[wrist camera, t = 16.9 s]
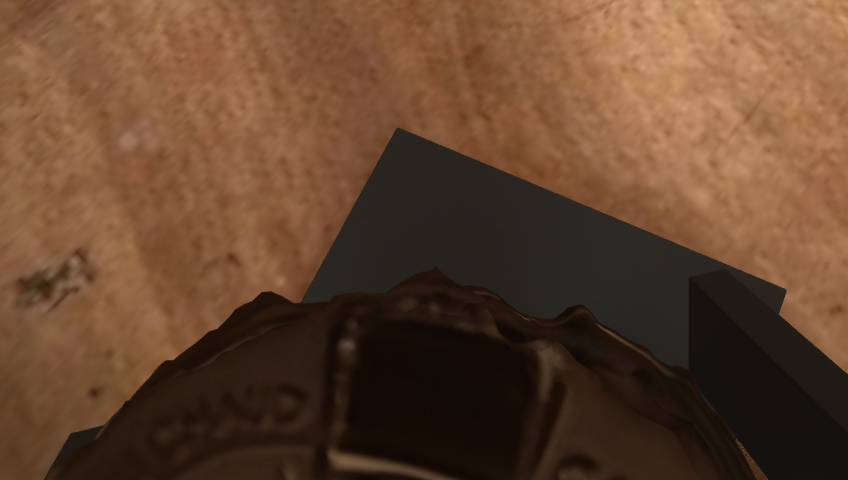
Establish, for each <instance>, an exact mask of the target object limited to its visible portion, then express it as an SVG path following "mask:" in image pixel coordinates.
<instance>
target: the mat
mask: <svg viewBox="0 0 848 480" xmlns="http://www.w3.org/2000/svg"><path fill="white" fill-rule="evenodd" d="M435 266H437V267H438V269H439V270H440V271H441V272H442V273H443V274H444V275H446V276H447V277H448V278H450V279H451V280H453V281H455V282H457V283H458V284H460V285H462V286H468V285H472V286H483V287H485V288H487V289H489V290H491V291H493V292H495V293H497V294H498V295H500V296H501V297H502V298H503V299H504V300H505V301H506V302H507V303H508V304H510V305H511V306H512V307H513V308H515V309H516V310H517V311H519V312H520V313H523V314H526V315H530V316H533V317H537V318H540V319H554V318H556V317H557V316H558V315H560V314H561V313H562V312H563V311H564V310H566V309H567V308H568V307H572V306H575V305H579V304H583V305H584V306H585V307H586V308H588V309H589V310H590V312H591V313H592V314H593V315H594V316H595V318H596V319H597V320H598V321H599V322H600V323H602V324H603V325H605V326H607V327H609V328H611V329H613V330H615V331H616V332H618V333H619V334H621V335H622V336H624V337H625V338H627V339H629V340H631V341H633V342H634V343H637V344H639V345H642V346H644V347H646V348H647V349H649V350H650V351H651V352H652V354H653V355H654V357H655V358H656V359H658V360H660V361H662V362H664V363H666V364H668V365H670V366H674V365H679V366H681V367H682V368H686V369H688V370H689V277H692V276H696V275H700V274H703V273H707V272H711V271H715V270H719V269H723V268H725V269H726V270H728V271H729V272H730V273H731V274H732V275H733V276H735V277H736V278H737V279H738V280H739V281H740V282H741V283H743V284H744V285H745V286H746V287H747V288H748V289H750V290H751V291H752V292H753V293H754V294H755V295H757V296H758V297H759V298H760V299H761V300H762V301H763V302H765V303H766V304H767V305H768V306H769V307H770V308H772V309H773V310H774V311H775V312H776V313H777V314H778V315H779V312H780V309H781V306H782V303H783V300H784V297H785V294H786V289H784V288H782V287H779V286H777V285H774V284H772V283H770V282H767V281H765V280H762V279H760V278H758V277H755V276H753V275H750V274H748V273H746V272H743V271H741V270H738V269H736V268H734V267H731V266H729V265H726V264H724V263H722V262H719V261H717V260H714V259H712V258H710V257H707V256H705V255H702V254H700V253H698V252H695V251H693V250H690V249H688V248H686V247H683V246H681V245H678V244H676V243H674V242H671V241H669V240H666V239H664V238H662V237H659V236H657V235H654V234H652V233H650V232H647V231H645V230H642V229H640V228H638V227H635V226H633V225H630V224H628V223H626V222H623V221H621V220H618V219H616V218H614V217H611V216H609V215H606V214H604V213H602V212H599V211H597V210H594V209H592V208H590V207H587V206H585V205H582V204H580V203H578V202H575V201H573V200H571V199H568V198H566V197H563V196H561V195H559V194H556V193H554V192H551V191H549V190H547V189H544V188H542V187H539V186H537V185H535V184H532V183H530V182H527V181H525V180H523V179H520V178H518V177H515V176H513V175H511V174H508V173H506V172H503V171H501V170H499V169H496V168H494V167H491V166H489V165H487V164H484V163H482V162H479V161H477V160H475V159H472V158H470V157H467V156H465V155H463V154H460V153H458V152H455V151H453V150H451V149H448V148H446V147H443V146H441V145H439V144H436V143H434V142H431V141H429V140H427V139H424V138H422V137H419V136H417V135H415V134H412V133H410V132H407V131H405V130H403V129H400V128H397V129H396V130H395V132H394V134H393V136H392V138H391V139H390V141H389V143H388V145H387V147H386V149H385V150H384V152H383V154H382V156H381V158H380V159H379V161H378V163H377V165H376V167H375V169H374V170H373V172H372V174H371V176H370V178H369V179H368V181H367V183H366V185H365V187H364V189H363V190H362V192H361V194H360V196H359V198H358V199H357V201H356V203H355V205H354V207H353V208H352V210H351V212H350V214H349V216H348V218H347V219H346V221H345V223H344V225H343V227H342V228H341V230H340V232H339V234H338V236H337V238H336V239H335V241H334V243H333V245H332V247H331V248H330V250H329V252H328V254H327V256H326V258H325V259H324V261H323V263H322V265H321V267H320V268H319V270H318V272H317V274H316V276H315V278H314V279H313V281H312V283H311V285H310V287H309V288H308V290H307V292H306V294H305V296H304V298H303V299H302V301H301V303H316V302H324V301H331V299H332V298H333V296H335V295H340V294H346V293H354V292H366V293H373V294H377V293H386V292H388V291H389V290H391V289H392V288H393V287H395V286H396V285H398V284H399V283H401V282H403V281H404V280H406V279H408V278H410V277H411V276H413V275H415V274H417V273H419V272H424V271H429V270H432V269H433V268H434V267H435ZM699 391H700V390H699ZM700 393H701V392H700ZM701 395H702V396H703V394H702V393H701ZM703 398H704V400H705V401H706V403H707V405H708V406H709V407H710V408H711V409H712V410H713V411H715V410H714V408H713V407H712V406H711V405H710V403H709V402H708V401H707V399H706V398H705V397H704V396H703ZM715 412H716V411H715ZM716 413H717V412H716ZM726 426H727V425H726ZM727 427H728V426H727ZM728 429H729V428H728ZM729 431H730V432H731V430H730V429H729ZM731 434H732V435H733V437H734V439H735V441H736V437H735V435H734V434H733V433H732V432H731Z"/></svg>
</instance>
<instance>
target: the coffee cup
mask: <svg viewBox="0 0 848 480" xmlns="http://www.w3.org/2000/svg"><path fill="white" fill-rule="evenodd" d="M46 480H756V478H755V476H754V474H753V472H752V470H751V468H750V466H749V464H748V462H747V460H746V458H745V457H744V455H743V453H742V451H741V450H740V448H739V446H738V445H737V443H736V441H735V439H734V437H733V435H732V434H731V432H730V431H729V429H728V427H727V426H726V424H725V423H724V421H723V420H722V418H721V417H720V416H719V415H718V414H717V413H716V412H715V411H713V410H712V409H711V408H710V407H709V406H708V405H707V403H706V401H705V400H704V398H703V396H702V395H701V393H700V391H699V388H698V384H697V382H696V380H695V379H694V378H693V377H692V375H691V373H690V371H689V370H688V369H686V368H682V367H681V366H679V365H674V366H670V365H668V364H666V363H664V362H662V361H660V360H658V359H656V358H655V357H654V355H653V354H652V352H651V351H650V350H649V349H647V348H646V347H644V346H642V345H639V344H637V343H634V342H633V341H631V340H629V339H627V338H625V337H624V336H622V335H621V334H619V333H618V332H616V331H615V330H613V329H611V328H609V327H607V326H605V325H603V324H602V323H600V322H599V321H598V320H597V319H596V318H595V316H594V315H593V314H592V313H591V312H590V310H589V309H588V308H586V307H585V306H584V305H583V304H579V305H575V306H572V307H568V308H567V309H566V310H564V311H563V312H562V313H561V314H560V315H558V316H557V317H556V318H554V319H540V318H537V317H533V316H530V315H526V314H523V313H520V312H519V311H517V310H516V309H515V308H513V307H512V306H511V305H510V304H508V303H507V302H506V301H505V300H504V299H503V298H502V297H501V296H500V295H498V294H497V293H495V292H493V291H491V290H489V289H487V288H485V287H483V286H472V285H468V286H462V285H460V284H458V283H457V282H455V281H453V280H451V279H450V278H448V277H447V276H446V275H444V274H443V273H442V272H441V271H440V270H439V269H438V267H437V266H435V267H434V268H433V269H432V270H429V271H424V272H419V273H417V274H415V275H413V276H411V277H410V278H408V279H406V280H404V281H403V282H401V283H399V284H398V285H396V286H395V287H393V288H392V289H391V290H389V291H388V292H386V293H377V294H373V293H366V292H354V293H346V294H340V295H335V296H333V298H332V299H331V301H324V302H316V303H293V302H291V301H289V300H288V299H286V298H284V297H283V296H280V295H278V294H276V293H273V292H271V291H270V292H261V293H260V294H259V295H258V296H257V297H256V298H255V299H254V300H253V301H252V302H249V303H246V304H244V305H242V306H240V307H239V308H237V309H235V311H234V312H233V313H232V314H231V315H230V317H229V318H228V319H227V320H226V321H225V322H224V323H223V324H222V325H221V326H220V327H219V328H218V329H215V330H212V331H209V332H208V333H207V334H206V335H205V336H204V337H202V338H201V339H200V340H199V341H198V342H196V343H195V344H194V345H193V346H191V347H190V348H188V349H187V350H186V351H184V352H183V353H182V354H180V355H179V356H178V357H177V358H175V359H174V360H166V361H164V362H163V363H162V364H161V365H160V366H158V367H157V369H156V370H155V371H154V373H153V374H152V375H151V376H150V378H149V379H148V380H147V381H146V382H145V383H144V384H143V385H142V386H141V387H140V388H139V389H138V390H137V391H136V393H135V394H134V395H133V396H132V397H131V399H130V400H129V401H126V402H125V403H124V405H123V406H122V408H121V409H119V410H118V411H117V412H116V413H115V414H114V415H113V416H112V417H111V418H110V420H109V421H108V422H107V423H106V424H105V425H104V426H103V427H102V429H101V430H100V431H99V432H98V433H97V434H96V436H95V437H94V439H93V440H92V441H91V442H89V443H87V444H85V445H83V446H81V447H79V448H77V449H76V450H75V451H74V452H73V453H72V454H71V455H70V457H69V458H67V459H65V460H63V461H61V462H59V463H57V464H56V465H55V466H54V467H53V468H52V469H51V470H50V472H49V474H48V476H47V478H46Z"/></svg>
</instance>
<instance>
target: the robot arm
mask: <svg viewBox="0 0 848 480" xmlns="http://www.w3.org/2000/svg"><path fill="white" fill-rule="evenodd" d="M689 371H690V373H691V375H692V377H693V378H694V379H695V380H696V382H697V384H698V388H699V390H700V392H701V393H702V394H703V396H704V397H705V398H706V399H707V401H708V402H709V403H710V405H711V406H712V407H713V408H714V410H715V411H716V412H717V414H718V415H719V416H720V417H721V418H722V420H723V421H724V423H725V424H726V425H727V426H728V428H729V429H730V430H731V432H732V433H733V434H734V435H735V437H736V438H737V439H738V440H739V442H740V443H741V444H742V446H743V447H744V448H745V449H746V451H747V452H748V453H749V455H750V456H751V457H752V458H753V460H754V461H755V462H756V464H757V465H758V466H759V467H760V469H761V470H762V471H763V473H764V474H765V475H766V476H767V478H768V479H769V480H848V374H847V373H846V372H844V371H843V370H842V369H841V368H840V367H839V366H837V365H836V364H835V363H834V362H833V361H832V360H830V359H829V358H828V357H827V356H826V355H825V354H824V353H822V352H821V351H820V350H819V349H818V348H817V347H815V346H814V345H813V344H812V343H811V342H810V341H809V340H807V339H806V338H805V337H804V336H803V335H802V334H800V333H799V332H798V331H797V330H796V329H795V328H793V327H792V326H791V325H790V324H789V323H788V322H787V321H785V320H784V319H783V318H782V317H781V316H780V315H778V314H777V313H776V312H775V311H774V310H773V309H772V308H770V307H769V306H768V305H767V304H766V303H765V302H763V301H762V300H761V299H760V298H759V297H758V296H757V295H755V294H754V293H753V292H752V291H751V290H750V289H748V288H747V287H746V286H745V285H744V284H743V283H741V282H740V281H739V280H738V279H737V278H736V277H735V276H733V275H732V274H731V273H730V272H729V271H728V270H726V269H725V268H723V269H719V270H715V271H711V272H707V273H703V274H700V275H696V276H692V277H689ZM103 426H104V425H103ZM103 426H99V427H95V428H91V429H87V430H83V431H79V432H75V433H71V434H70V435H69V437H68V439H67V440H66V442H65V444H64V446H63V447H62V449H61V451H60V453H59V454H58V456H57V458H56V459H55V461H54V463H53V465H52V466H51V468H50V470H51V469H52V468H53V467H54V466H55V465H56V464H57V463H59V462H61V461H63V460H65V459H67V458H69V457H70V455H71V454H72V453H73V452H74V451H75V450H76V449H77V448H79V447H81V446H83V445H85V444H87V443H89V442H91V441H92V440H93V439H94V437H95V436H96V434H97V433H98V432H99V431H100V430H101V429H102V427H103ZM50 470H49V471H48V473H47V475H46V477H45V478H44V480H46V478H47V476H48V474H49V472H50Z"/></svg>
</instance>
